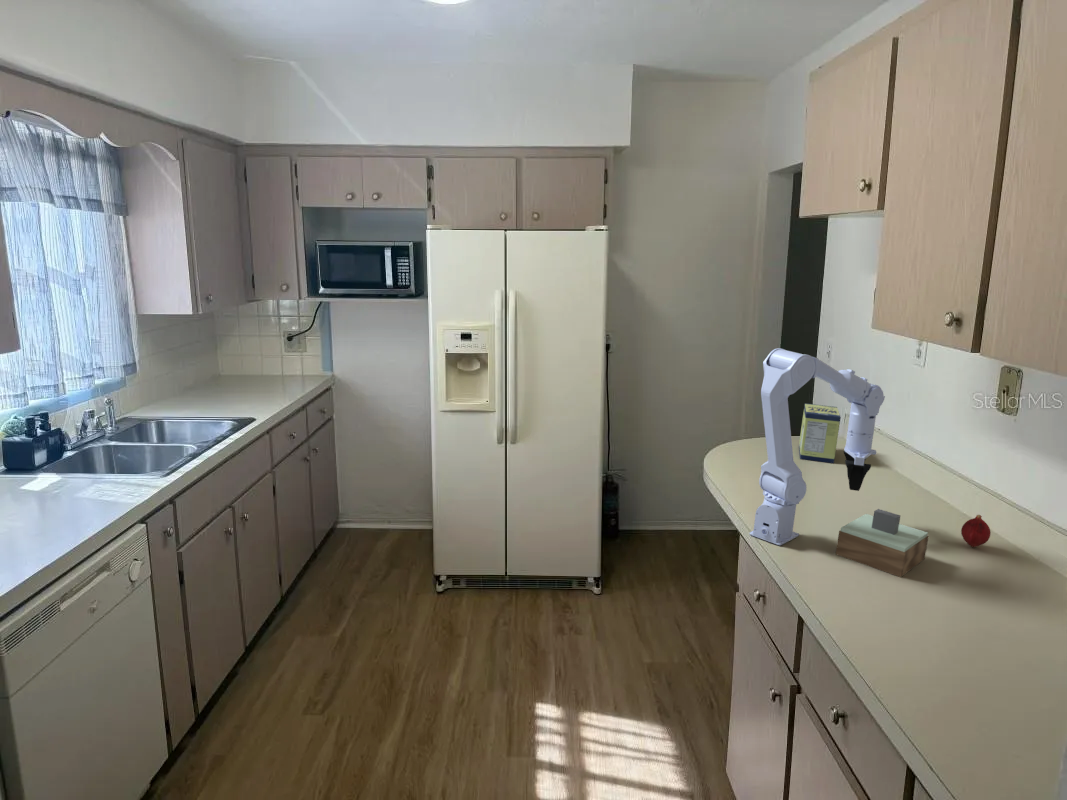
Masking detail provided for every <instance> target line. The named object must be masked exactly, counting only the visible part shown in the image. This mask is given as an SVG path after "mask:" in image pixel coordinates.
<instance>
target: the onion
mask: <svg viewBox="0 0 1067 800" xmlns="http://www.w3.org/2000/svg"><path fill="white" fill-rule="evenodd" d="M982 517H983V516H982V515H980V514H976V516H975V517H974V518H970V519H968V520H967V521H965V522H964V524H963V525H962V526H961V531H960V532H961V536H962V539H963V541H965V543H966V544H968V545H969V546H970V547H971V548H976V547H979V546H983V545H985V544H986V543H987V542H989V540H990V538H991V529H990V526H989V525H988V524H987V522H986V521H985V520H983V518H982Z"/></svg>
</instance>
